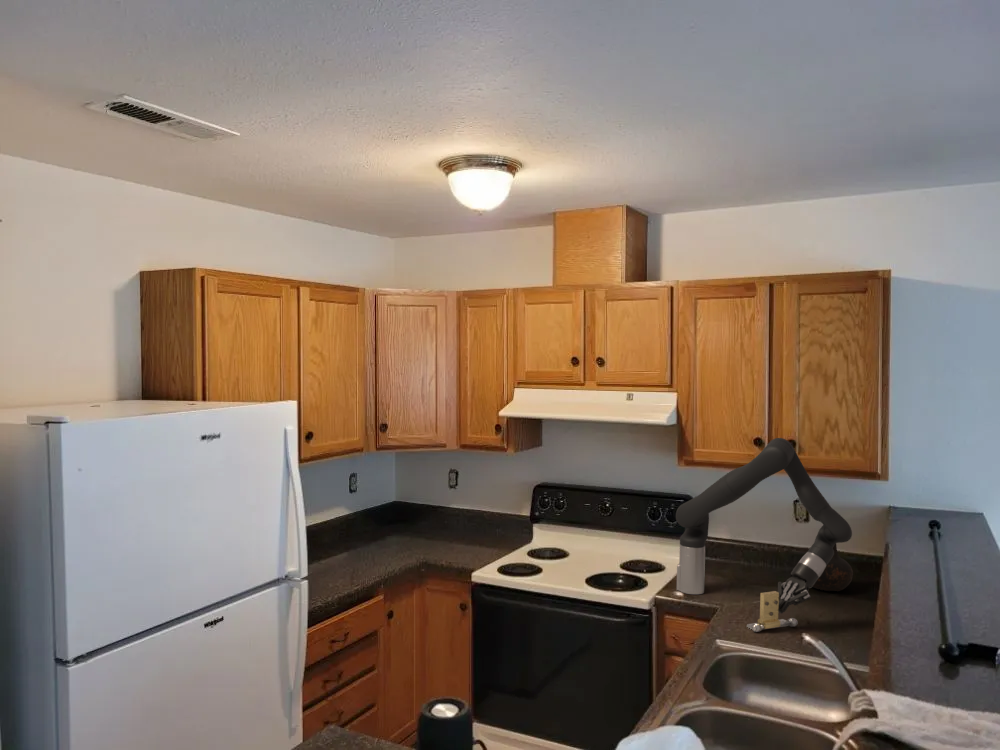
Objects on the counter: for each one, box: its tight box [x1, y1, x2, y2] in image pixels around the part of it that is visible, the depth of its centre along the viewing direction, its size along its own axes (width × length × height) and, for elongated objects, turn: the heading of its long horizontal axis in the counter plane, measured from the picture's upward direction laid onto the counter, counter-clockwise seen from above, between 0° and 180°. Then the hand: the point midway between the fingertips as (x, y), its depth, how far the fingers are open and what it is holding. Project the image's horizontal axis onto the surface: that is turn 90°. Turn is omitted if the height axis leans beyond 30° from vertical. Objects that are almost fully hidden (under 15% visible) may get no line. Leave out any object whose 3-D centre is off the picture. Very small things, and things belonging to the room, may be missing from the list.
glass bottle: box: [812, 543, 854, 592], centre depth 285 cm, size 18×18×28 cm
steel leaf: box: [746, 617, 799, 633], centre depth 241 cm, size 17×6×3 cm, turn 112°
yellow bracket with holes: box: [757, 590, 781, 630], centre depth 239 cm, size 6×4×11 cm, turn 112°
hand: (778, 611), depth 240 cm, fingers closed
